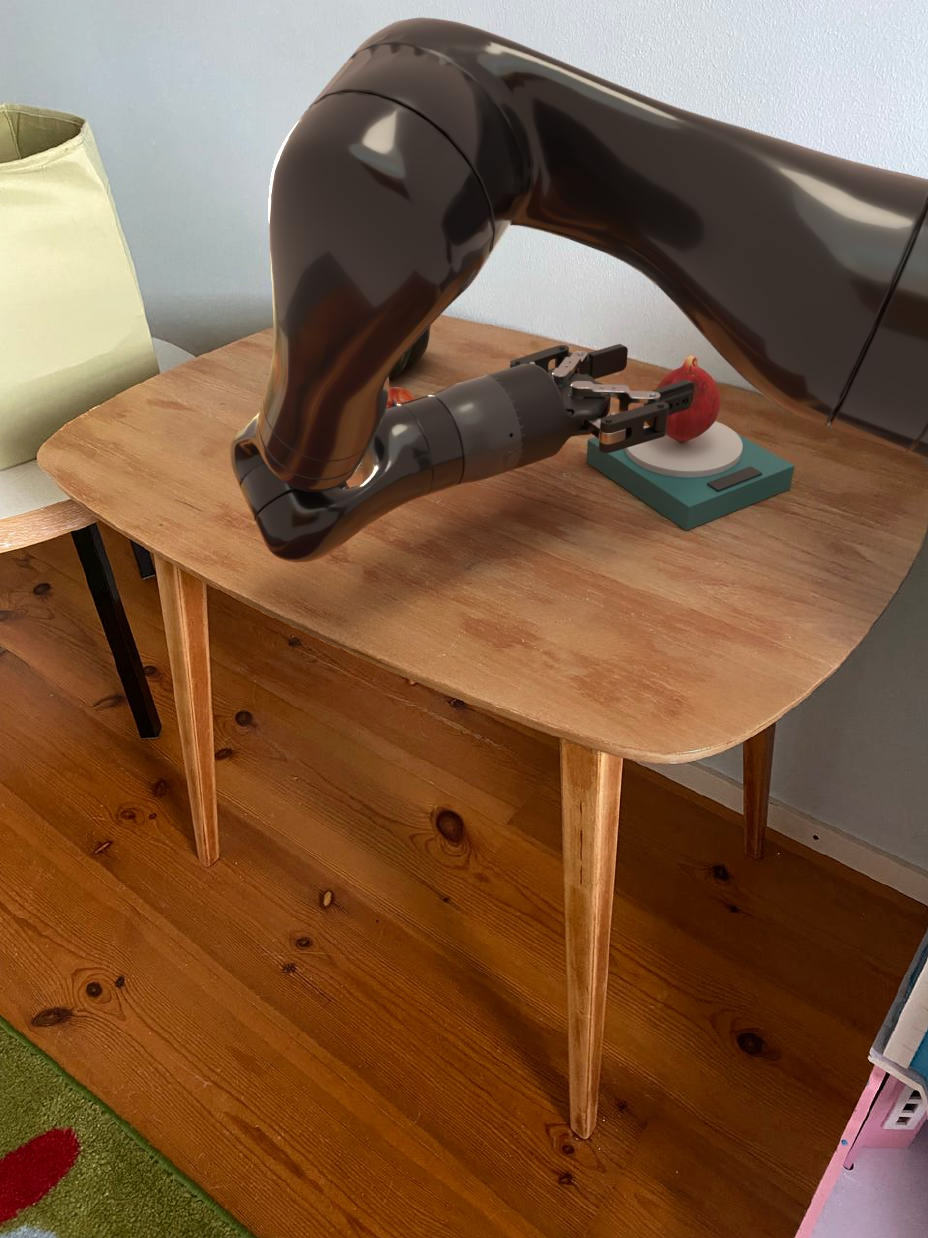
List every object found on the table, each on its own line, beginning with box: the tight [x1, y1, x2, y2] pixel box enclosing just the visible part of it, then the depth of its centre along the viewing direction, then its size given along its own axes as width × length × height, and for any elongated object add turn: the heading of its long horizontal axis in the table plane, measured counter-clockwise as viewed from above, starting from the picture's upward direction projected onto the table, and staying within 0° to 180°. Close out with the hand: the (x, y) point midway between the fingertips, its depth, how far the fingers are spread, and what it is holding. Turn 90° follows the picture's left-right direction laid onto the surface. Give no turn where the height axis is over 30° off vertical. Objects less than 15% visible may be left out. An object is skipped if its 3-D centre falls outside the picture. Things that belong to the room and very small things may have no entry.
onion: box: [655, 354, 722, 443], centre depth 86 cm, size 6×6×8 cm
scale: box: [586, 420, 795, 531], centre depth 89 cm, size 14×12×3 cm
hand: (656, 373), depth 82 cm, fingers open, 8 cm apart
